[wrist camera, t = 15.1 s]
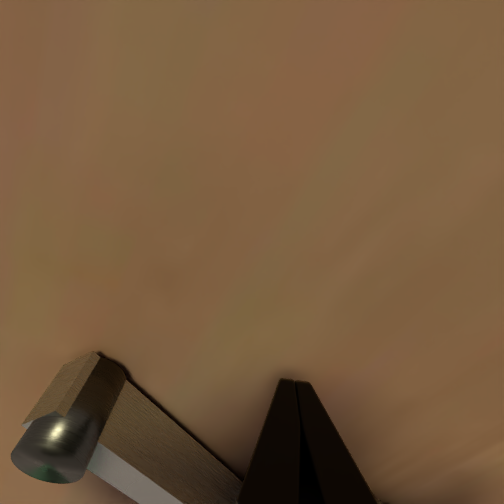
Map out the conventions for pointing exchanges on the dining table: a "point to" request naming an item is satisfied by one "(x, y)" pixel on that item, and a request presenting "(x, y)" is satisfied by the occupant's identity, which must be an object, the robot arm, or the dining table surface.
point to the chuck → (117, 440)
